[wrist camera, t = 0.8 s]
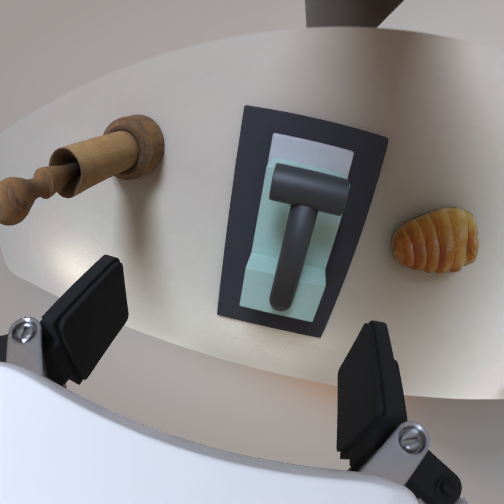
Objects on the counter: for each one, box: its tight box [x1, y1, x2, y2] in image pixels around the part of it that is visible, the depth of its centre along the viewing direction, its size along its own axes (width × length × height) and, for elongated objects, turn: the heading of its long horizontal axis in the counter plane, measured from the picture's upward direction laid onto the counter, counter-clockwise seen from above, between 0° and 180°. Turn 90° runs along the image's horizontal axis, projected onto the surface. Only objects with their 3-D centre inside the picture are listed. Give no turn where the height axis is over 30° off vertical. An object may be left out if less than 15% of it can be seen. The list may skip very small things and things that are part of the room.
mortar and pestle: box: [0, 115, 164, 226], centre depth 20 cm, size 7×6×18 cm
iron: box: [240, 133, 354, 322], centre depth 24 cm, size 14×7×10 cm, turn 171°
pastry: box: [392, 207, 479, 273], centre depth 25 cm, size 9×7×4 cm
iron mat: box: [217, 105, 389, 338], centre depth 30 cm, size 24×13×1 cm, turn 171°
